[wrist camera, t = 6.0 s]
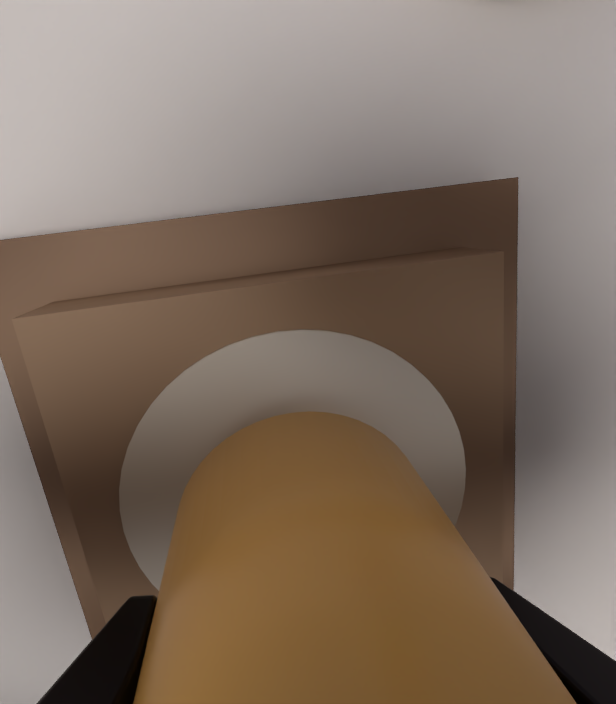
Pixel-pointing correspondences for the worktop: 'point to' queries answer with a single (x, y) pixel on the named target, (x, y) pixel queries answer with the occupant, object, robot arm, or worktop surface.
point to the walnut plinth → (263, 359)
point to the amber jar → (328, 583)
